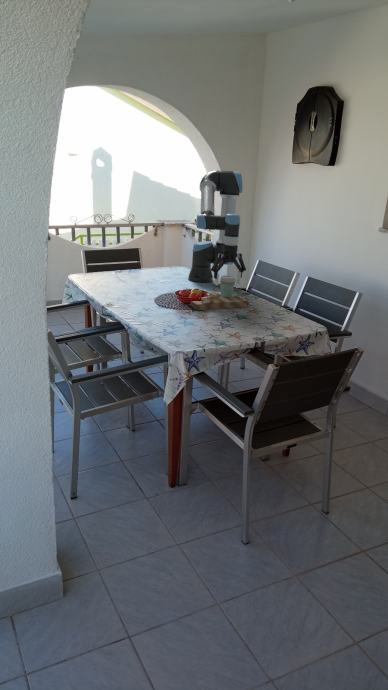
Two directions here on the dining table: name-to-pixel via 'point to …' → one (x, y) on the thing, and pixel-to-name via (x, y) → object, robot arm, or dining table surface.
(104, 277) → the dining table surface
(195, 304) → the board
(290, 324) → the dining table surface
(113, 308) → the dining table surface
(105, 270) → the dining table surface
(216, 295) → the gauge
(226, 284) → the coffee cup
